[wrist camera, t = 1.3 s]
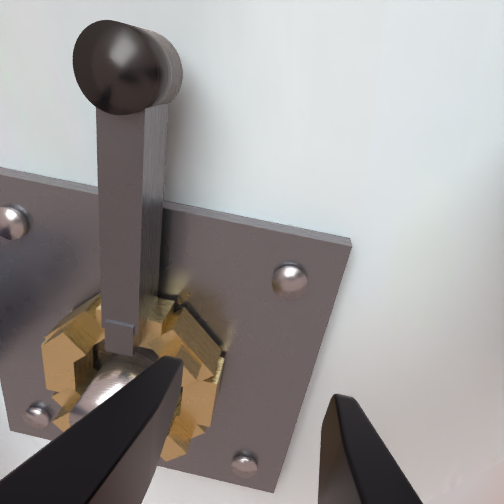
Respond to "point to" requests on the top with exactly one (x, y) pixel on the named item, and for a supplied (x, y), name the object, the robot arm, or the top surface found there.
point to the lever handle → (131, 233)
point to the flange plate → (185, 295)
